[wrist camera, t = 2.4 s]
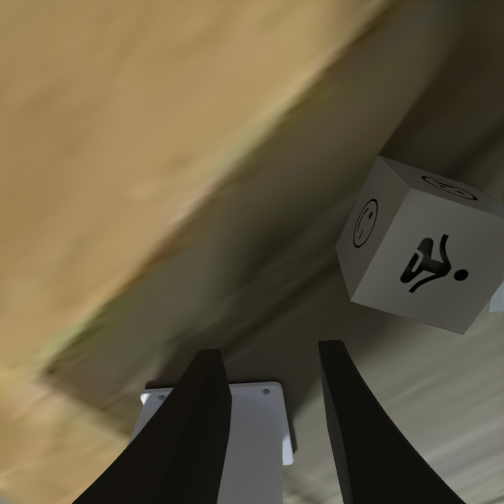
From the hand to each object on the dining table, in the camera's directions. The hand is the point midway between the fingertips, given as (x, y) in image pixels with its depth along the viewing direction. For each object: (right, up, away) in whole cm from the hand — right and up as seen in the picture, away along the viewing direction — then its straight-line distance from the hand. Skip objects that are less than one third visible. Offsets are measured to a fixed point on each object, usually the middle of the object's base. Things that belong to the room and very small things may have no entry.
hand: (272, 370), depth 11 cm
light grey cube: (+7, +5, +8) cm, 12 cm away
